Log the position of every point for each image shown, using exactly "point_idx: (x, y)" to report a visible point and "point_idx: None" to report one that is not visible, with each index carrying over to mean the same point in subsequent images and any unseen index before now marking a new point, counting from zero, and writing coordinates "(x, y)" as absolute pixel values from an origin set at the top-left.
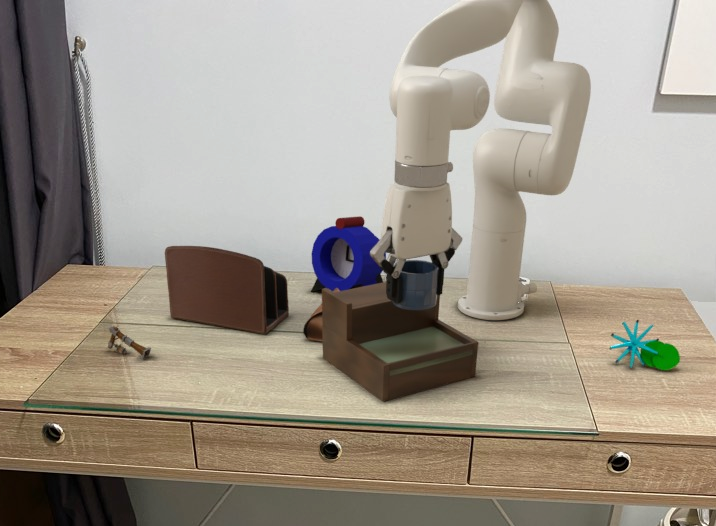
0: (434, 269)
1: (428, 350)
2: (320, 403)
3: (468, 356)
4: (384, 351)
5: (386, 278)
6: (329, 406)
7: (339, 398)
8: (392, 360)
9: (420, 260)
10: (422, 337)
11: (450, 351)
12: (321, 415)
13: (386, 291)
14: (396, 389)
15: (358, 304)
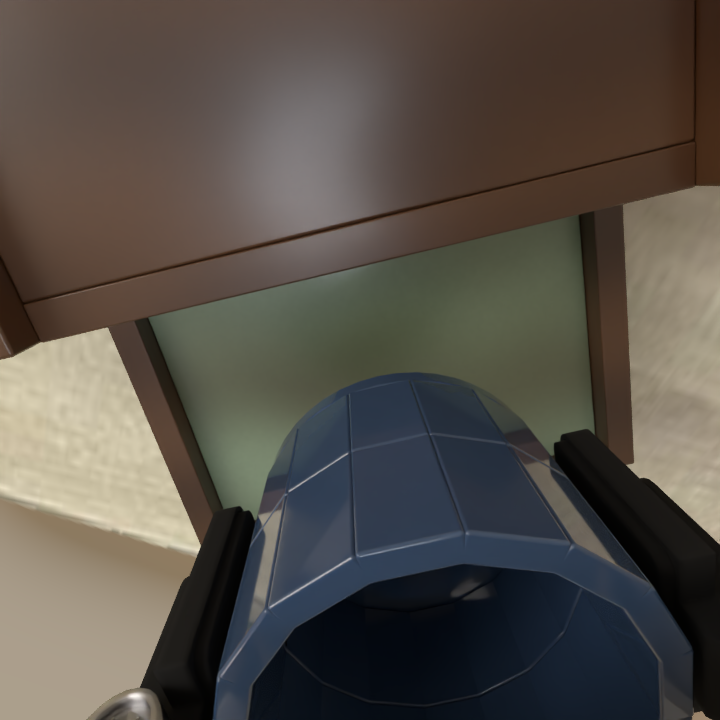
0: (630, 705)
1: None
2: (46, 437)
3: None
4: (261, 387)
5: (143, 680)
6: (72, 460)
7: (109, 423)
8: (267, 468)
9: (613, 574)
10: (467, 300)
11: None
12: (43, 501)
13: (182, 590)
14: None
15: (93, 273)
